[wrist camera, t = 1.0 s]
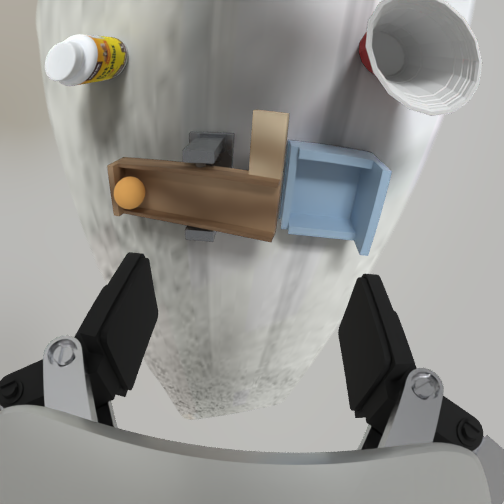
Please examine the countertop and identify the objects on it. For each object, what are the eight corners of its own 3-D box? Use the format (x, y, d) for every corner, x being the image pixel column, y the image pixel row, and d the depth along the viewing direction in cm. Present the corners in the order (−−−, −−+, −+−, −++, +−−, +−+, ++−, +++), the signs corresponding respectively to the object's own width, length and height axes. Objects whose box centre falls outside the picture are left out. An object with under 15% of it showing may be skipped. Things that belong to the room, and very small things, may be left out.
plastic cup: (314, 54, 26) (338, 45, 16) (371, -5, 21) (417, -32, 11) (385, 118, 29) (435, 144, 20) (437, 61, 24) (500, 68, 14)
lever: (120, 106, 27) (103, 111, 25) (289, 113, 24) (283, 117, 22) (129, 208, 34) (114, 219, 32) (275, 236, 31) (268, 251, 29)
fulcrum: (191, 131, 32) (172, 146, 26) (234, 133, 32) (225, 148, 26) (191, 211, 38) (176, 240, 32) (230, 214, 38) (222, 244, 32)
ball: (126, 170, 30) (105, 181, 28) (150, 173, 30) (129, 185, 27) (129, 198, 32) (109, 211, 30) (152, 203, 32) (133, 217, 29)
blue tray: (288, 139, 32) (292, 156, 26) (371, 152, 32) (391, 171, 26) (278, 216, 38) (279, 247, 32) (354, 225, 38) (367, 255, 32)
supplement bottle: (121, 84, 29) (72, 94, 20) (86, 75, 28) (33, 85, 19) (136, 41, 26) (89, 36, 17) (99, 34, 25) (47, 31, 16)
